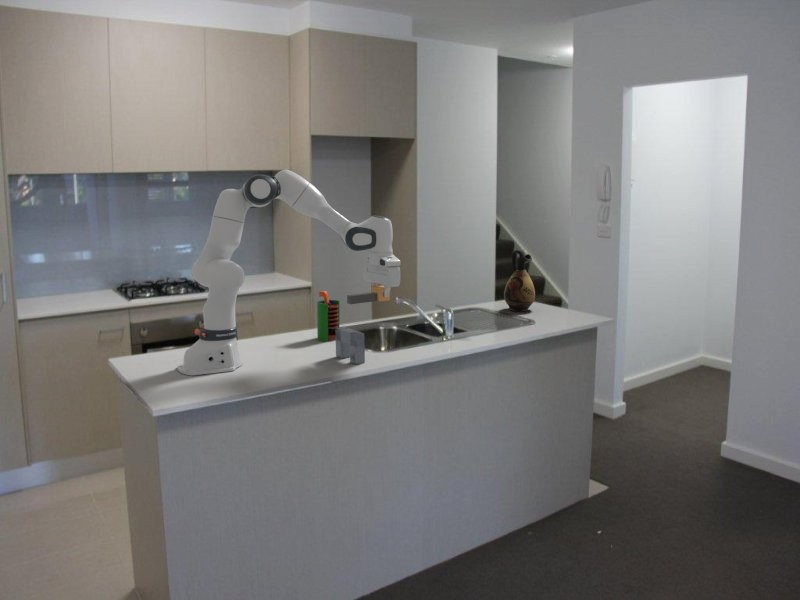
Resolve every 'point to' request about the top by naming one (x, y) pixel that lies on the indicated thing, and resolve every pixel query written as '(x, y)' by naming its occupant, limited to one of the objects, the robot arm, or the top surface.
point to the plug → (368, 296)
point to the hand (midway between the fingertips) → (381, 295)
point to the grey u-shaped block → (350, 345)
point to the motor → (327, 317)
